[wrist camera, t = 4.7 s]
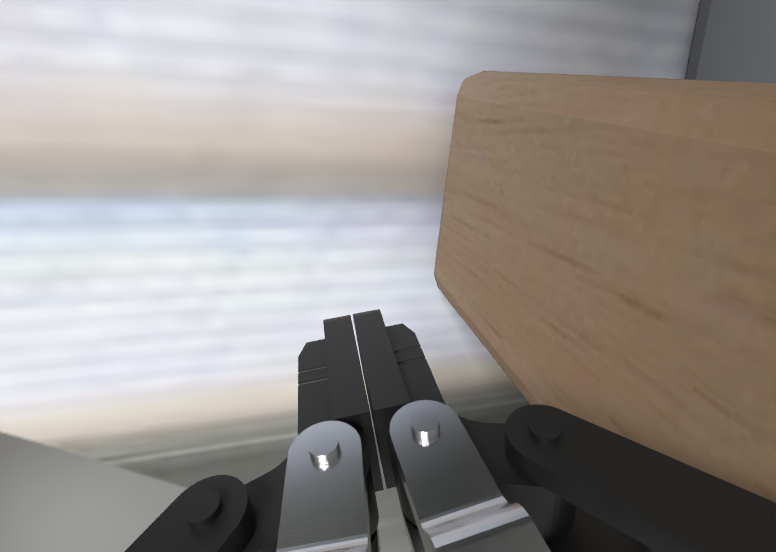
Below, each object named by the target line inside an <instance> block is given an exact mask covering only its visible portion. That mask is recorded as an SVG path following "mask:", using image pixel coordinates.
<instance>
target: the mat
mask: <svg viewBox="0 0 776 552" xmlns="http://www.w3.org/2000/svg"><path fill="white" fill-rule="evenodd" d="M685 80H705V81H728V82H751V83H774V84H776V0H701V1H700V6H699V11H698V16H697V22H696V27H695V32H694V37H693V42H692V47H691V52H690V57H689V63H688V68H687V73H686V78H685Z"/></svg>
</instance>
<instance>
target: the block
mask: <svg viewBox="0 0 776 552" xmlns="http://www.w3.org/2000/svg"><path fill="white" fill-rule="evenodd" d="M434 276H435V279H436V282H437V286H438V288H439V289H440V290H441V292H442V293H443V294H444V295H445V297H446V298H447V299H448V301H449V302H450V303H451V304H452V306H453V307H454V308H455V309H456V311H457V312H458V313H459V314H460V316H461V317H462V318H463V320H464V321H465V322H466V323H467V325H468V326H469V327H470V328H471V330H472V331H473V332H474V333H475V335H476V336H477V337H478V339H479V340H480V341H481V342H482V344H483V345H484V346H485V347H486V349H487V350H488V351H489V352H490V354H491V355H492V356H493V358H494V359H495V360H496V361H497V363H498V364H499V365H500V366H501V368H502V369H503V370H504V371H505V373H506V374H507V375H508V377H509V378H510V379H511V380H512V382H513V383H514V384H515V385H516V387H517V388H518V389H519V390H520V392H521V393H522V394H523V396H524V397H525V398H526V399H527V401H528V402H529V403H530V404H531V405H534V404H541V405H548V406H552V407H555V408H558V409H561V410H563V411H565V412H568V413H570V414H572V415H574V416H577V417H579V418H581V419H584V420H586V421H588V422H591V423H593V424H595V425H598V426H600V427H602V428H604V429H607V430H609V431H611V432H614V433H616V434H618V435H621V436H623V437H625V438H628V439H630V440H632V441H634V442H637V443H639V444H641V445H644V446H646V447H648V448H651V449H653V450H655V451H658V452H660V453H662V454H664V455H667V456H669V457H671V458H674V459H676V460H678V461H681V462H683V463H685V464H688V465H690V466H692V467H694V468H697V469H699V470H701V471H704V472H706V473H708V474H711V475H713V476H715V477H718V478H720V479H722V480H724V481H727V482H729V483H731V484H734V485H736V486H738V487H741V488H743V489H745V490H748V491H750V492H752V493H754V494H757V495H759V496H761V497H764V498H766V499H768V500H771V501H773V502H775V503H776V84H774V83H751V82H728V81H705V80H681V79H658V78H635V77H611V76H588V75H565V74H542V73H518V72H495V71H483V72H481V73H478V74H476V75H473V76H470V77H468V78H466V79H465V80H464V81H463V83H462V86H461V88H460V91H459V93H458V95H457V102H456V109H455V117H454V125H453V132H452V140H451V147H450V155H449V163H448V170H447V178H446V185H445V193H444V200H443V208H442V216H441V223H440V231H439V238H438V246H437V254H436V261H435V269H434Z"/></svg>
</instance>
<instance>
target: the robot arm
mask: <svg viewBox="0 0 776 552" xmlns="http://www.w3.org/2000/svg"><path fill="white" fill-rule="evenodd" d="M353 318H354V324H355V330H356V335H357V341H358V347H359V353H360V358H361V364H362V369H363V375H364V380H365V385H366V390H367V394H368V399H369V404H370V409H371V414H372V419H373V424H374V429H375V433H376V438H377V443H378V448H379V453H380V458H381V463H382V468H383V472H384V477H385V482H386V487H387V489H388V488H392V487H397V492H398V496H399V500H400V505H401V511H402V518H403V523H404V527H405V530H406V533H407V536H408V540H409V543H410V546H411V549H412V552H776V503H775V502H773V501H771V500H768V499H766V498H764V497H761V496H759V495H757V494H754V493H752V492H750V491H748V490H745V489H743V488H741V487H738V486H736V485H734V484H731V483H729V482H727V481H724V480H722V479H720V478H718V477H715V476H713V475H711V474H708V473H706V472H704V471H701V470H699V469H697V468H694V467H692V466H690V465H688V464H685V463H683V462H681V461H678V460H676V459H674V458H671V457H669V456H667V455H664V454H662V453H660V452H658V451H655V450H653V449H651V448H648V447H646V446H644V445H641V444H639V443H637V442H634V441H632V440H630V439H628V438H625V437H623V436H621V435H618V434H616V433H614V432H611V431H609V430H607V429H604V428H602V427H600V426H598V425H595V424H593V423H591V422H588V421H586V420H584V419H581V418H579V417H577V416H574V415H572V414H570V413H568V412H565V411H563V410H561V409H558V408H555V407H552V406H548V405H541V404H534V405H527V406H523V407H521V408H519V409H517V410H515V411H514V412H513V413H512V414H511V415H510V416H509V418H508V420H507V423H506V424H501V423H482V422H475V421H470V420H467V419H465V418H462V417H460V416H458V415H457V414H456V412H455V411H454V410H453V409H451V408H450V407H449V406H447V405H446V404H445V402H444V400H443V398H442V396H441V393H440V391H439V389H438V386H437V384H436V382H435V379H434V377H433V375H432V372H431V370H430V368H429V365H428V363H427V361H426V359H425V356H424V354H423V351H422V349H421V348H420V344H419V342H418V340H417V337H416V335H415V333H414V332H413V331H411V330H410V329H409V328H407V327H406V326H405V325H404V324H398V325H393V326H388V327H385V324H384V321H383V318H382V315H381V312H380V309H378V310H372V311H367V312H362V313H357V314H353ZM324 333H325V339H323V340H318V341H313V342H308V343H306V345H305V346H304V348H303V350H302V351H301V353H300V355H299V357H298V372H299V374H298V384H299V386H298V436H297V437H296V439H295V440H294V441H293V443H292V444H291V447H290V449H289V452H288V457H287V458H286V459H285V460H284V461H283V462H282V463H281V464H280V465H278V466H277V467H276V468H274V469H273V470H271V471H270V472H268V473H266V474H264V475H262V476H261V477H259V478H257V479H255V480H253V481H251V482H249V483H247V484H245V485H244V484H243V483H242V482H241V481H240V480H239V479H237V478H235V477H233V476H228V475H217V476H212V477H209V478H205V479H203V480H201V481H199V482H197V483H195V484H193V485H192V486H190V487H189V488H188V489H186V490H185V491H184V492H183V493H182V494H181V495H179V496H178V497H177V498H176V500H175V501H173V502H172V503H171V505H170V506H169V507H168V508H167V509H166V510H165V511H164V512H163V513H162V514H161V515H160V516H159V517H158V518H157V519H156V520H155V521H154V522H153V523H152V524H151V525H150V526H149V527H148V528H147V529H146V530H145V531H144V532H143V533H142V534H141V535H140V536H139V537H138V538H137V539H136V540H135V541H134V543H133V544H132V545H131V546H130V547H129V548H128V549H127V550H126V551H125V552H380V541H379V531H378V519H379V515H378V508H377V502H376V496H375V492H376V491H381V490H384V489H383V484H382V478H381V472H380V467H379V461H378V455H377V450H376V444H375V438H374V432H373V427H372V421H371V415H370V410H369V405H368V400H367V395H366V390H365V385H364V380H363V375H362V370H361V365H360V360H359V355H358V350H357V345H356V340H355V336H354V331H353V326H352V321H351V316H350V315H347V316H342V317H337V318H331V319H326V320H324Z"/></svg>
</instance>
